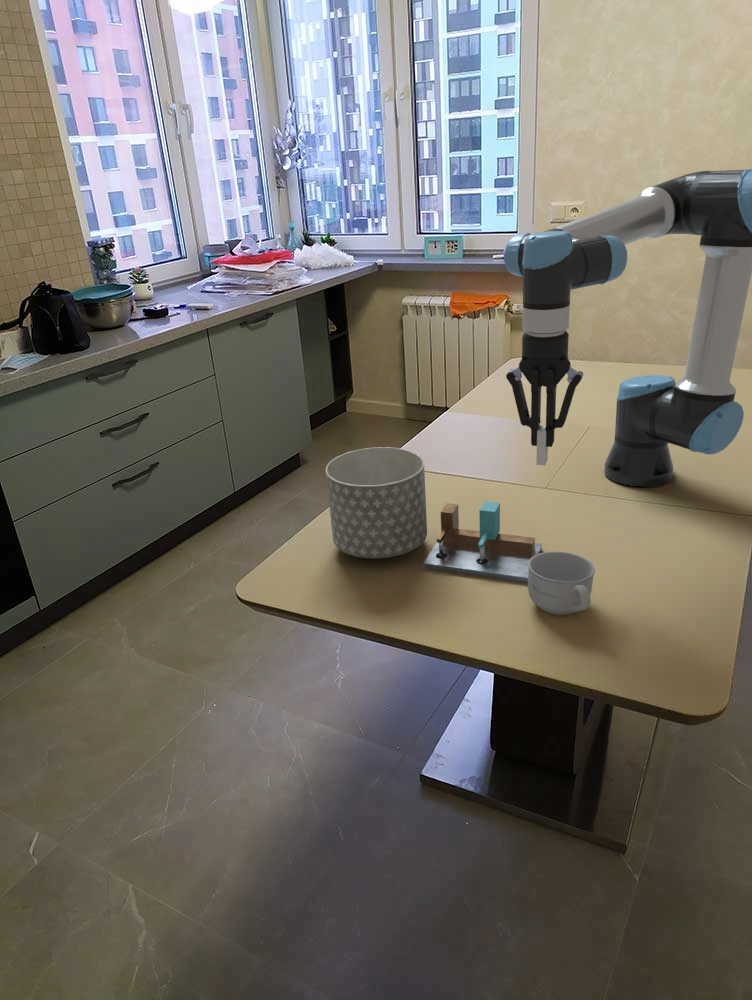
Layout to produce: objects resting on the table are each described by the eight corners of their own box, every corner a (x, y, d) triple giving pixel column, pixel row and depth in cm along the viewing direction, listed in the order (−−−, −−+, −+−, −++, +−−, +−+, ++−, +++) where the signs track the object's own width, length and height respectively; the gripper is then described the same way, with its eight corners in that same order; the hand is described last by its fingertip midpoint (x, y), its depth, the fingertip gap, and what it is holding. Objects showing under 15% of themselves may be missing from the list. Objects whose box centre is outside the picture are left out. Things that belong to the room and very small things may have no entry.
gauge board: (541, 549, 141) (543, 509, 137) (528, 583, 130) (529, 542, 127) (443, 536, 148) (442, 499, 145) (423, 568, 138) (421, 528, 134)
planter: (338, 527, 155) (329, 449, 147) (426, 523, 154) (422, 444, 146) (330, 574, 138) (320, 488, 130) (429, 569, 137) (425, 483, 129)
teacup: (520, 591, 128) (520, 552, 125) (579, 584, 129) (582, 545, 125) (542, 637, 116) (544, 595, 112) (608, 630, 116) (612, 588, 113)
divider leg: (499, 539, 142) (500, 502, 138) (488, 563, 134) (488, 524, 131) (484, 537, 143) (484, 501, 140) (472, 561, 135) (472, 523, 132)
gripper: (588, 326, 120) (582, 457, 130) (511, 325, 125) (510, 451, 135) (582, 337, 114) (576, 473, 124) (501, 336, 119) (501, 467, 129)
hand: (542, 462), depth 130 cm, fingers closed
